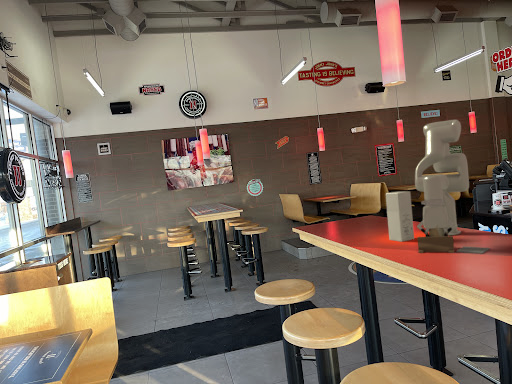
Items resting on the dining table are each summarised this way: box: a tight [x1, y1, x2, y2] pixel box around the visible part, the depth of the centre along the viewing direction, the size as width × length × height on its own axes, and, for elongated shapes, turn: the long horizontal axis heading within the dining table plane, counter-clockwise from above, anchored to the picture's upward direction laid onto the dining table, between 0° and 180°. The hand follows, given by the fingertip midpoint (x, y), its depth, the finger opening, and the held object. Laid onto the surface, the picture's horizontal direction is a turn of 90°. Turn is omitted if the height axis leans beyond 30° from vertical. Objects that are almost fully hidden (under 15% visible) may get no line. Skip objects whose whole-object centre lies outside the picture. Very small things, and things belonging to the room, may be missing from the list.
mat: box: [456, 246, 491, 255], centre depth 160 cm, size 10×10×1 cm
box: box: [428, 225, 444, 237], centre depth 170 cm, size 5×4×11 cm
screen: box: [417, 235, 455, 254], centre depth 164 cm, size 5×14×6 cm, turn 65°
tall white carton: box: [385, 191, 415, 243], centre depth 198 cm, size 9×9×25 cm
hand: (437, 242), depth 171 cm, fingers closed on box, 6 cm apart
